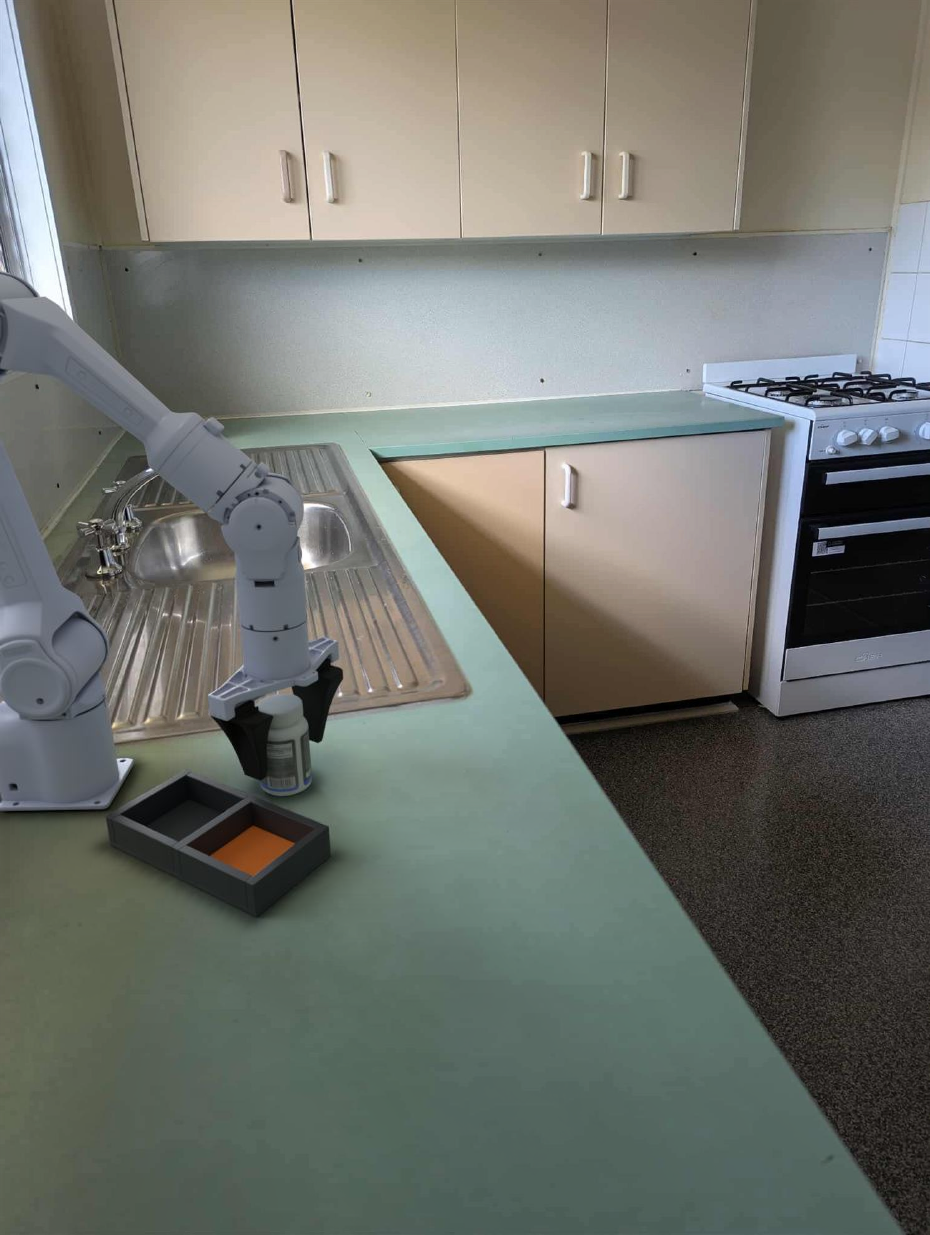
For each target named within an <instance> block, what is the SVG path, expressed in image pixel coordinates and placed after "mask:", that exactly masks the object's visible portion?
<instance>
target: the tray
mask: <svg viewBox="0 0 930 1235" xmlns="http://www.w3.org/2000/svg"><path fill="white" fill-rule="evenodd" d="M105 820H106V827H107V834H108V838H109V845H110V846H111V847H113V848H115V849H117V850H118V851H121V852H122V853H125V854H127V855H129V856H131V857H133V858H135V859H137V860H139V861H141V862H143V863H145V864H147V865H149V866H151V867H153V868H155V869H157V870H160V871H161V872H163V873H166V874H167V875H169V876H171V877H174V878H175V879H178V880H180V881H182V882H183V883H185V884H188V885H189V886H192V887H194V888H195V889H198V890H200V891H202V892H204V893H206V894H208V895H210V896H211V897H214V898H216V899H218V900H221V901H222V902H224V903H226V904H227V905H230V906H233V907H234V908H236V909H239V910H240V911H243V912H244V913H247V914H249V915H250V916H253V917H255V918H258V916H260V915H261V914H262V913H264V911H265V910H267V909H268V908H269V907H270V906H272V905H273V904H275V903H276V902H277V901H278V900H279V899H281V898H282V897H283V896H284V895H285V894H287V892H289V891H291V889H293V888H294V887H295V886H296V885H298V883H300V882H301V881H302V880H304V879H305V878H306V877H307V876H309V874H311V873H312V872H313V871H314V870H316V869H317V868H318V867H319V866H321V865H322V864H323V863H324V862H325V861H327V860H328V859H329V858H330V857H331V855H332V854H331V839H330V838H331V837H330V836H331V835H330V826H329V825H326V824H324V823H321V822H319V821H316V820H315V819H312V818H309V817H307V816H304V815H302V814H299V813H297V812H294V811H292V810H289V809H287V808H284V807H281V806H280V805H277V804H275V803H272V802H269V801H267V800H265V799H262V798H261V797H257V796H255V795H252V794H249V793H247V792H244V791H242V790H239V789H237V788H234V787H232V786H229V785H228V784H225V783H222V782H220V781H217V780H215V779H212V778H210V777H207V776H205V775H202V774H200V773H198V772H195V771H193V770H190V769H188V768H186V769H184V770H182V771H180V772H179V773H176V774H175V775H173V776H172V777H170V778H168V779H167V780H165V781H163V782H162V783H160V784H158V785H156V786H154V787H153V788H151V789H149V790H148V791H146V792H144V793H142V794H141V795H139V796H137V797H135V798H134V799H132V800H131V801H129V802H127V803H125V804H124V805H122V806H120V807H119V808H116V809H115V810H113V811H112V812H110V813H109V814H106V815H105Z"/></svg>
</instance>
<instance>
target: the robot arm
mask: <svg viewBox="0 0 930 1235" xmlns="http://www.w3.org/2000/svg"><path fill="white" fill-rule="evenodd" d="M9 371H12V372H19V373H27V374H36V375H44V376H51V377H54V378H55V379H56V380H58V381H60V382H61V383H62V384H64V385H65V386H66V387H67V388H69V389H71V390H72V392H74V393H76V394H77V395H78V396H80V397H81V398H83V399H84V400H85V401H86V402H88V403H89V404H90V405H92V406H93V407H95V409H97V410H99V411H100V412H101V413H103V415H105V416H106V417H108V418H109V419H110V420H112V421H113V422H114V423H116V424H117V425H119V427H121V428H122V429H123V430H125V431H127V432H128V433H130V434H131V435H132V436H133V437H135V438H136V439H137V440H139V441H140V442H141V443H142V444H143V446H144V450H145V455H146V460H147V465H148V467H149V469H151V471H153V473H155V474H157V475H158V476H159V477H160V478H162V479H163V480H164V481H165V482H166V483H168V484H169V485H170V486H171V487H173V488H174V489H175V490H176V491H178V492H179V493H180V494H181V495H182V496H184V497H185V498H186V499H187V500H189V501H190V502H191V503H192V504H194V506H196V507H197V508H198V509H200V510H201V511H202V512H204V514H207V516H208V517H210V518H211V519H212V520H215V521H217V522H219V523H221V524H222V525H221V527H220V529H221V535H222V536H223V539H224V541H225V543H226V544H227V546H228V547H229V548H230V549H231V551H232V552H234V563H235V570H234V578H235V579H234V580H235V588H236V599H237V609H238V610H237V611H238V620H239V629H240V630H239V631H240V642H241V650H242V651H241V652H242V661H243V664H242V665H241V667H240V668H238V669H237V671H235V672H234V673H233V675H231V676H230V678H227V680H226V681H225V682H224V683H223V684H222V685H221V686H220V687H219V688H217V689H216V690H214V691H212V692H210V693H208V694H207V700H208V710H209V716H210V717H211V718H212V719H213V721H214V722H215V723H216V724H217V725H218V726H219V727H220V729H221V730H222V731H223V733H224V734H225V736H226V737H227V739H228V740H229V742H230V744H231V746H232V748H233V750H234V752H235V754H236V757H237V759H238V761H239V764H240V766H241V769H242V771H243V774H244V775H245V776H247V777H249V778H252V779H254V780H257V781H260V780H263V779H264V778H266V775H267V769H268V765H267V741H268V734H269V729H270V725H271V722H272V720H273V716H272V715H269V714H266V713H263V712H260V711H259V707H258V706H257V705H256V704H255V701H258V700H259V699H261V698H264V697H266V696H267V695H270V694H271V693H275V692H278V691H281V690H285V689H288V688H291V690H292V695H295V696H298V697H299V698H300V699H301V700H302V705H303V717H304V718H305V719H306V720H307V723H308V730H309V742H313V743H316V744H320V743H321V742H322V741H323V739H324V734H325V731H326V725H327V721H328V716H329V713H330V709H331V705H332V702H333V699H334V698H335V695H336V693H337V690H338V689H339V687H340V685H341V683H342V681H343V680H344V669H343V668H342V667H339V666H336V665H333V663H335V662H337V661H338V660H340V651H339V650H340V649H339V641H338V640H336V639H333V638H329V637H325V636H321V637H318V638H317V639H313V640H311V641H310V640H309V627H308V626H309V624H308V608H307V606H308V605H307V592H306V579H305V578H306V577H305V576H306V575H305V568H304V564H303V562H302V559H303V550H302V547H301V538H300V536H298V532H299V529H300V528H301V526H302V524H303V520H304V514H305V507H304V501H303V498H302V495H301V494H300V492H299V491H298V489H297V487H295V485H294V484H293V483H292V482H291V480H290V478H288V477H287V476H286V475H282V474H279V473H276V472H271V468H270V467H269V466H268V465H267V464H266V463H264V462H263V461H260V462H259V463H258V464H257V463H256V462H255V461H253V459H251V458H250V457H249V456H248V455H247V454H245V453H244V451H242V450H241V449H240V448H238V447H237V445H235V444H234V443H233V442H231V441H230V440H229V439H227V437H225V435H223V434H222V432H223V431H224V429H225V426H224V425H223V424H222V423H220V421H218V420H217V419H216V418H215V417H214V416H212V417H210V418H208V419H207V420H206V419H204V417H202V416H201V415H200V414H198V413H197V412H174V411H171V409H169V408H168V407H167V406H166V405H165V404H164V403H163V402H162V401H161V400H160V399H159V398H157V397H156V396H155V395H154V394H153V393H152V392H151V391H150V390H149V389H148V388H147V387H145V386H144V385H143V384H142V383H141V382H140V381H139V380H138V379H137V378H135V376H133V375H132V374H131V373H130V372H129V371H128V370H127V369H126V368H125V367H124V366H123V365H122V364H120V363H119V361H117V360H116V359H115V357H113V356H112V355H111V354H109V352H108V351H107V350H105V349H104V348H103V346H101V345H100V344H99V343H98V342H97V341H96V340H94V338H92V337H91V336H90V335H89V334H88V333H87V332H86V331H84V330H83V328H82V327H81V326H79V325H78V324H77V323H76V321H74V320H73V319H72V318H71V316H70V315H69V314H68V313H67V312H66V311H65V310H64V309H63V308H62V307H61V305H59V304H57V303H56V302H55V301H53V300H52V299H51V298H48V296H41V295H40V293H39V292H38V291H37V289H36V288H35V287H33V285H32V284H31V283H29V282H28V281H27V280H26V279H24V278H22V277H20V276H18V275H16V274H14V273H10V272H6V271H0V385H1V384H2V382H3V380H4V379H5V377H6V376H7V373H8V372H9ZM110 647H111V646H110V639H109V637H108V634H107V632H106V631H105V629H104V628H103V627H102V626H101V624H100V623H99V622H98V621H96V620H95V619H94V618H93V617H92V616H91V615H90V614H89V612H88V611H87V610H86V607H85V605H84V602H83V600H82V598H81V597H80V596H79V595H78V594H76V593H74V592H73V591H71V590H70V589H67V588H65V587H64V586H63V585H62V583H61V581H60V578H59V576H58V574H57V571H56V568H55V567H54V563H53V561H52V559H51V557H50V554H49V551H48V549H47V546H46V544H45V542H44V539H43V537H42V535H41V533H40V530H39V528H38V525H37V523H36V519H35V517H34V515H33V513H32V511H31V508H30V506H29V504H28V501H27V499H26V496H25V494H24V491H23V489H22V486H21V484H20V482H19V479H18V477H17V475H16V472H15V469H14V466H13V465H12V462H11V459H10V457H9V455H8V453H7V450H6V448H5V446H4V443H3V441H2V438H1V437H0V698H1V700H2V701H1V702H0V797H1V801H0V811H1V812H13V811H14V812H16V811H17V812H19V811H20V812H21V811H24V812H25V811H68V810H69V811H71V810H72V811H73V810H74V811H75V810H79V811H81V810H106V809H108V808H109V807H110V806H111V804H112V803H113V801H114V799H115V798H116V796H117V794H118V792H119V791H120V789H121V787H122V785H123V783H124V782H125V780H126V778H127V777H128V775H129V773H130V772H131V770H132V768H133V766H134V764H135V760H134V759H133V758H118V757H117V752H116V746H115V739H114V733H113V726H112V721H111V714H110V706H109V702H108V694H107V689H106V686H105V683H104V681H103V679H102V673H101V668H102V667H103V666H104V665H105V664H106V662H107V660H108V658H109V656H110V650H111V648H110Z"/></svg>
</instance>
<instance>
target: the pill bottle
mask: <svg viewBox="0 0 930 1235" xmlns="http://www.w3.org/2000/svg"><path fill="white" fill-rule="evenodd" d="M257 706H258V707H259V711H260V712H263V713H266V714H269V715H272V716H273V720H272V722H271V725H270V729H269V734H268V741H267V765H268V769H267V775H266V778H264V779H263V780H260V787H261V789H262V790H263V791H264V792H266V794H269V795H272V796H276V797H287V796H293V795H297V794H299V793H301V792H303V791H305V790H306V789H307V788H309V787H310V785H311V783H312V779H313V776H312V775H313V774H312V773H313V772H312V759H311V758H312V757H311V747H310V744H311V742H310V740H309V730H308V723H307V720H306V719H305V718H304V717H303V705H302V700H301V699H300V698H299V697H298V696H295V695H294V694H293V693H292V694H291V693H276V694H275V693H274V694H269V695H266V696H264V697H262V699H260V700H259V701H258V703H257V705H256V707H257Z"/></svg>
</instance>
